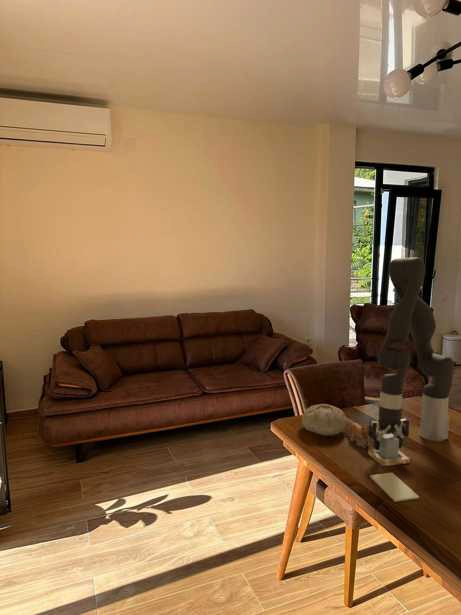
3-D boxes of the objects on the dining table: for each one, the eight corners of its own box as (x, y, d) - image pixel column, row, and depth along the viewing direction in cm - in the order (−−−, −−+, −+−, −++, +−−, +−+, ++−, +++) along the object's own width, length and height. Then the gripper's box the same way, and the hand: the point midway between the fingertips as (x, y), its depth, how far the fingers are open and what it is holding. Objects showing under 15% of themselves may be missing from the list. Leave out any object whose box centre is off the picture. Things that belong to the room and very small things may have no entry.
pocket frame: (394, 450, 159) (394, 447, 158) (409, 462, 150) (409, 458, 150) (368, 453, 156) (368, 449, 156) (382, 466, 148) (382, 461, 148)
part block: (390, 454, 156) (391, 433, 155) (397, 460, 152) (399, 439, 150) (379, 455, 155) (380, 434, 154) (386, 462, 151) (387, 440, 149)
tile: (391, 474, 142) (392, 472, 142) (419, 498, 129) (419, 496, 129) (370, 476, 141) (370, 475, 141) (395, 501, 127) (395, 499, 127)
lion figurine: (380, 448, 161) (381, 425, 159) (371, 452, 158) (372, 428, 156) (349, 434, 173) (350, 412, 171) (340, 437, 170) (341, 415, 168)
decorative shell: (325, 445, 163) (326, 419, 162) (292, 428, 177) (292, 405, 176) (355, 433, 174) (356, 409, 172) (321, 418, 188) (322, 396, 186)
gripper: (402, 399, 156) (399, 442, 158) (366, 401, 153) (363, 445, 155) (415, 407, 148) (412, 451, 151) (378, 409, 145) (375, 455, 148)
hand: (387, 448), depth 153 cm, fingers open, 8 cm apart
